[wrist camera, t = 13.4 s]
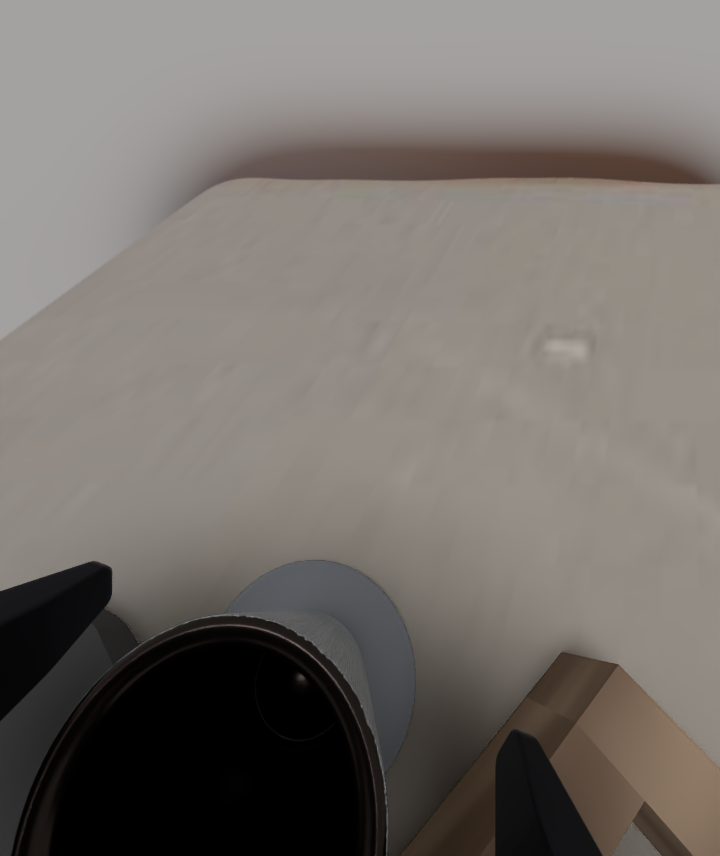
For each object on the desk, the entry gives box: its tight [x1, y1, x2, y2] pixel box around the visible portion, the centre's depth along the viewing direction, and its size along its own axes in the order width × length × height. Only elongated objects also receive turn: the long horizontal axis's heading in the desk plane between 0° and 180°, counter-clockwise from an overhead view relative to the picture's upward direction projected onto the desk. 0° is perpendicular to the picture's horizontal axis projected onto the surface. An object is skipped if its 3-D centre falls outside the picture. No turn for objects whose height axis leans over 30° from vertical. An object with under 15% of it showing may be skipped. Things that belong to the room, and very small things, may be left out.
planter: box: [10, 610, 388, 856], centre depth 9 cm, size 4×4×10 cm
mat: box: [224, 560, 416, 774], centre depth 14 cm, size 8×8×1 cm
